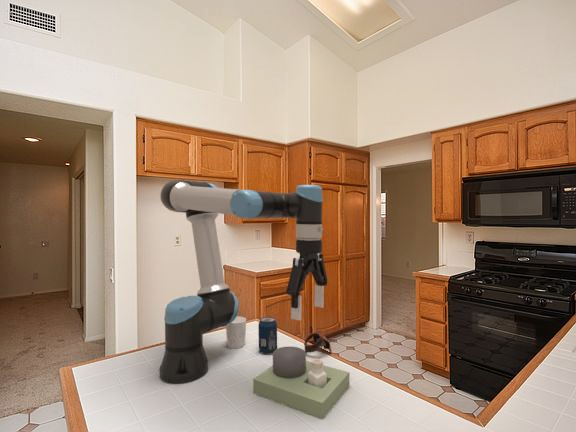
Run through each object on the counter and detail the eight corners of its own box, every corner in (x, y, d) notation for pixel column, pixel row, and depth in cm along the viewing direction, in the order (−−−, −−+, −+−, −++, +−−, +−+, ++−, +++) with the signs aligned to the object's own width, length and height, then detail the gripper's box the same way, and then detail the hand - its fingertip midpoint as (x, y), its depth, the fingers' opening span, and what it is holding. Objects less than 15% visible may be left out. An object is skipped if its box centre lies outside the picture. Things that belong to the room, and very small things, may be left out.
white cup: (250, 343, 125) (250, 318, 125) (237, 350, 118) (236, 324, 118) (235, 339, 129) (235, 315, 129) (221, 346, 123) (221, 320, 123)
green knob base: (253, 393, 90) (252, 361, 90) (287, 367, 105) (286, 340, 105) (322, 419, 78) (322, 382, 78) (349, 385, 93) (349, 355, 93)
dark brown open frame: (335, 359, 112) (325, 341, 110) (311, 369, 113) (301, 352, 111) (331, 338, 124) (321, 321, 122) (309, 347, 125) (300, 331, 123)
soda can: (264, 346, 123) (264, 315, 123) (280, 349, 120) (280, 317, 120) (255, 352, 116) (254, 320, 117) (271, 356, 113) (271, 323, 113)
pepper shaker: (317, 400, 86) (317, 365, 86) (307, 394, 89) (307, 360, 89) (327, 395, 89) (327, 361, 89) (317, 389, 92) (317, 356, 92)
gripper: (298, 243, 78) (297, 328, 78) (338, 237, 99) (337, 304, 99) (273, 241, 82) (272, 322, 82) (317, 235, 103) (316, 300, 103)
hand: (308, 312), depth 91 cm, fingers open, 13 cm apart
